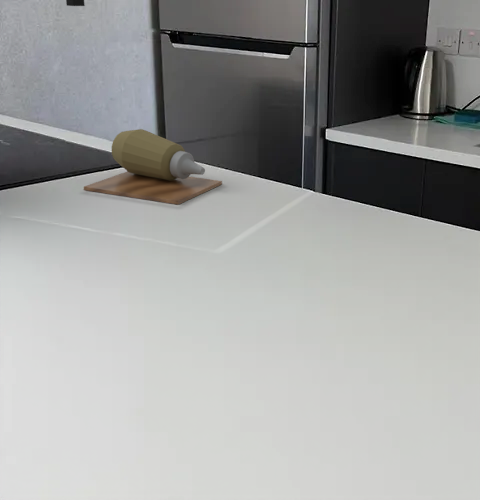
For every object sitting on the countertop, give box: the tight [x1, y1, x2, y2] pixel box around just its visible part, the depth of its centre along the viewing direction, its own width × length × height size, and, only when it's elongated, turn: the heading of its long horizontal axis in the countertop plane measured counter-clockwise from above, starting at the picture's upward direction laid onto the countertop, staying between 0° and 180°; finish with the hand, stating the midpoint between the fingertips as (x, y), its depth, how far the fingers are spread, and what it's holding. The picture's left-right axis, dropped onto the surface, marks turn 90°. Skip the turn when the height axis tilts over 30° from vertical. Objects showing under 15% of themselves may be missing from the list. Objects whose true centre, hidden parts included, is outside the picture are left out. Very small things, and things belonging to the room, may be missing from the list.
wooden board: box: [83, 170, 223, 205], centre depth 116 cm, size 18×14×1 cm
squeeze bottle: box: [111, 128, 206, 181], centre depth 118 cm, size 8×8×18 cm
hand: (75, 5), depth 117 cm, fingers closed
